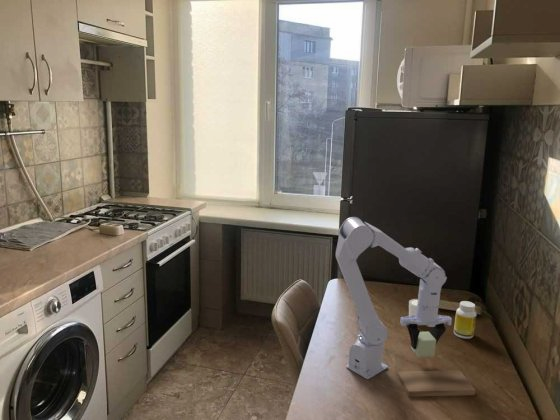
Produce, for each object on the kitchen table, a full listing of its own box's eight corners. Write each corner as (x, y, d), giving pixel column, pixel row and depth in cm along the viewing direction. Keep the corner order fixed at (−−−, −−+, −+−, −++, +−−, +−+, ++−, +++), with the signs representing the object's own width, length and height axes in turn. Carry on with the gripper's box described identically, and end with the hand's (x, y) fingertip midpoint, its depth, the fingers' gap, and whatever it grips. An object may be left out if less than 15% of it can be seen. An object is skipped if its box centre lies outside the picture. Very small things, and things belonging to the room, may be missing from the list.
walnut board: (474, 395, 123) (475, 390, 122) (408, 396, 121) (408, 391, 121) (459, 375, 131) (459, 370, 131) (397, 376, 130) (397, 371, 130)
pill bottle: (475, 340, 151) (479, 309, 148) (455, 338, 152) (459, 306, 149) (471, 331, 157) (475, 301, 154) (452, 329, 158) (456, 298, 155)
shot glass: (419, 315, 167) (421, 297, 165) (431, 324, 160) (433, 306, 159) (403, 318, 165) (404, 299, 163) (414, 327, 158) (416, 308, 157)
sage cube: (417, 356, 132) (419, 340, 131) (410, 347, 137) (412, 331, 136) (434, 356, 133) (436, 340, 132) (426, 346, 138) (428, 331, 137)
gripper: (408, 310, 127) (403, 355, 130) (459, 309, 128) (453, 353, 132) (399, 299, 133) (394, 342, 137) (447, 298, 135) (442, 341, 138)
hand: (422, 347), depth 135 cm, fingers closed on sage cube, 5 cm apart
